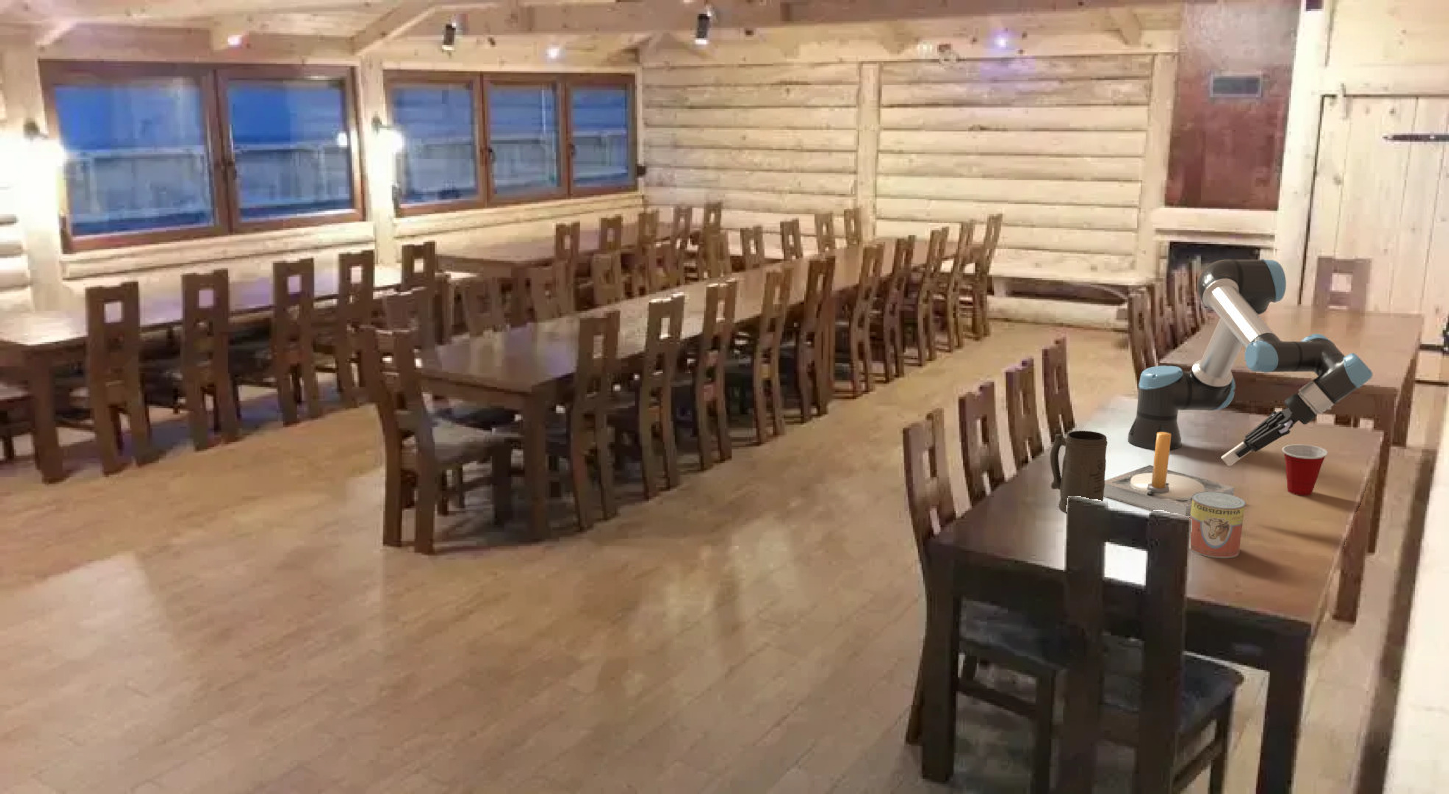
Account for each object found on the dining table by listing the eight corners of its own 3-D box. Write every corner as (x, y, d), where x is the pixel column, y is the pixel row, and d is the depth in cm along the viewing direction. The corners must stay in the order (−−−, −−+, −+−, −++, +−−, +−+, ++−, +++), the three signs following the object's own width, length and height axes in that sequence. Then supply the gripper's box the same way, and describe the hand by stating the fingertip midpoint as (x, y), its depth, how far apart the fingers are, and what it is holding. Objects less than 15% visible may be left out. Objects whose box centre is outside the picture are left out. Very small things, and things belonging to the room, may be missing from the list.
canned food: (1186, 553, 259) (1192, 504, 256) (1186, 537, 269) (1191, 489, 266) (1240, 561, 255) (1247, 510, 252) (1237, 543, 265) (1244, 495, 262)
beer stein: (1112, 509, 287) (1115, 432, 283) (1093, 520, 280) (1095, 441, 276) (1056, 499, 298) (1058, 425, 294) (1036, 509, 290) (1037, 433, 286)
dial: (1144, 473, 309) (1150, 415, 305) (1212, 487, 298) (1220, 427, 294) (1119, 490, 295) (1125, 429, 291) (1190, 505, 284) (1197, 442, 280)
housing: (1099, 494, 298) (1100, 480, 297) (1148, 477, 313) (1149, 462, 312) (1184, 519, 280) (1186, 504, 279) (1232, 499, 295) (1234, 484, 294)
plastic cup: (1267, 488, 305) (1272, 445, 302) (1296, 483, 309) (1302, 441, 306) (1301, 501, 295) (1307, 457, 292) (1331, 496, 299) (1337, 452, 296)
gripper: (1323, 422, 270) (1238, 481, 279) (1312, 408, 282) (1231, 465, 291) (1302, 398, 270) (1218, 458, 279) (1292, 385, 282) (1212, 443, 291)
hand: (1225, 461), depth 285 cm, fingers closed
